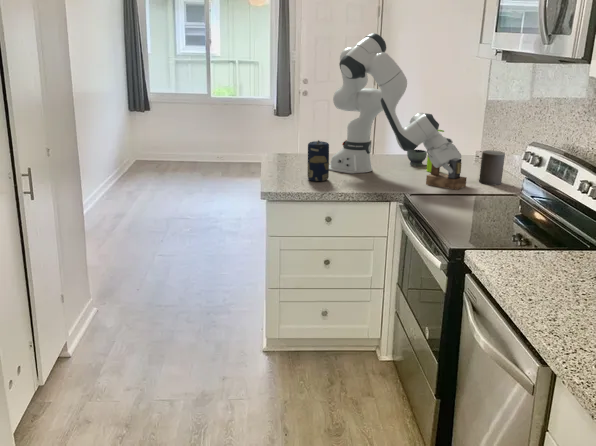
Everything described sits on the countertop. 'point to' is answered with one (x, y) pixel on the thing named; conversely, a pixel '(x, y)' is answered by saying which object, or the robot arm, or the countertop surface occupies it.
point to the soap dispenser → (429, 164)
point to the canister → (318, 161)
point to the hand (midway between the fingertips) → (455, 171)
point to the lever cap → (455, 168)
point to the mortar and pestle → (416, 157)
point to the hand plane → (444, 180)
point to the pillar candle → (491, 167)
